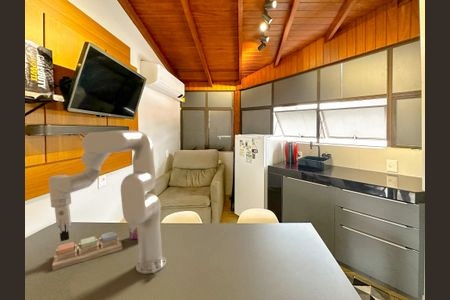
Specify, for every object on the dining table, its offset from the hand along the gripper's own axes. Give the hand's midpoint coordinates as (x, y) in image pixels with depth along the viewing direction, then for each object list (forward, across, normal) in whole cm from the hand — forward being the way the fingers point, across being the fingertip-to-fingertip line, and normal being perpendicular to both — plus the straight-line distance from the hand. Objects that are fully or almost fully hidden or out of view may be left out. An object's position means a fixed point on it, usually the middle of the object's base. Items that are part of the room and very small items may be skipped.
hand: (64, 239), depth 104 cm
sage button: (+6, 0, -9) cm, 11 cm away
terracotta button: (+6, 0, 0) cm, 6 cm away
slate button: (+6, 0, -18) cm, 19 cm away
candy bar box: (+10, 0, -34) cm, 36 cm away
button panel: (+10, 0, -9) cm, 13 cm away
